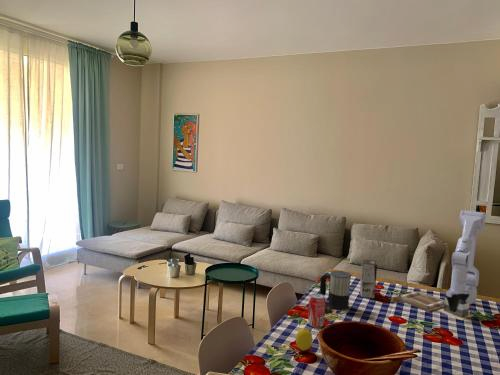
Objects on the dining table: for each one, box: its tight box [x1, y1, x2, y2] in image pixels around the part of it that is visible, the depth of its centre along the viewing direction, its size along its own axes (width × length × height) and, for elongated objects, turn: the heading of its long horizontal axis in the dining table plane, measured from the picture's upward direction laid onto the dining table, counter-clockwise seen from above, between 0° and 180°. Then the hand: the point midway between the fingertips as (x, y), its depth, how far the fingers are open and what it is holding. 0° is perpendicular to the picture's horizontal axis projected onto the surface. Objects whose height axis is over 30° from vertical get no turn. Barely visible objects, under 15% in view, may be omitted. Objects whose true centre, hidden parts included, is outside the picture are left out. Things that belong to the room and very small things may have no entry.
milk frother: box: [319, 270, 352, 313], centre depth 174 cm, size 14×16×15 cm
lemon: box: [295, 327, 313, 352], centre depth 135 cm, size 6×6×8 cm
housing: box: [444, 297, 470, 317], centre depth 171 cm, size 5×8×6 cm, turn 34°
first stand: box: [436, 308, 476, 321], centre depth 171 cm, size 11×11×2 cm
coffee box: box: [359, 259, 378, 299], centre depth 193 cm, size 9×6×16 cm
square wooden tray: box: [392, 291, 445, 313], centre depth 183 cm, size 18×18×3 cm
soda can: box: [307, 292, 327, 329], centre depth 155 cm, size 6×6×12 cm
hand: (455, 310), depth 171 cm, fingers closed on housing, 5 cm apart
